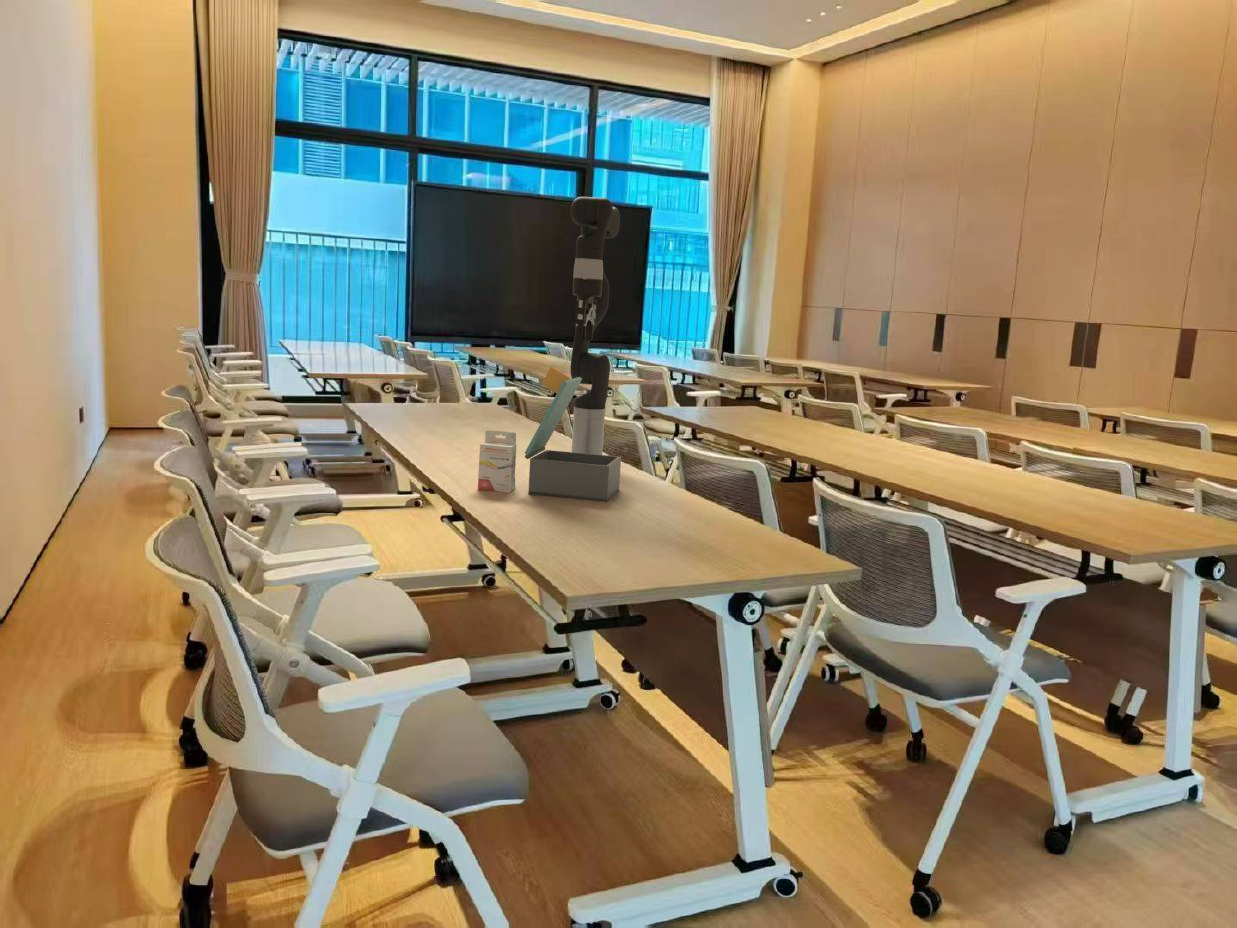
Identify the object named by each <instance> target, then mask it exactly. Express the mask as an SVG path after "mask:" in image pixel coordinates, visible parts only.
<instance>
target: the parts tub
mask: <svg viewBox="0 0 1237 928" xmlns="http://www.w3.org/2000/svg"><path fill="white" fill-rule="evenodd" d="M621 464H622V456H618V455H617V456H616V455H607V454H605V455H604V454H602V455H597V454H586V453H576V452H572V451H564V450H563V451H562V450H553V449H545V450H544V451H542V452H540V453H538V454H536V455H534V456H533V457H531V458H529V473H528V474H529V476H528V495H533V496H541V497H550V498H551V497H552V498H560V499H561V498H562V499H572V500H584V501H593V502H603V503H607V502H609V500H611V498H613V497H614V496H615V494H616V493H618V492H619V490H620V479H621Z"/></svg>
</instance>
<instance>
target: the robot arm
mask: <svg viewBox="0 0 1237 928" xmlns="http://www.w3.org/2000/svg"><path fill="white" fill-rule="evenodd" d="M570 217H571V219H572V221H573V223H575V225H577V226H580V235H579V236H578V237H577V238H576V243H575V260H574V266H573V279H572V295H573V296H576V300H575V309H574V310H575V311H574V324H575V332H574V338H573V343H572V344H573V346H572V350H571V351H572V352H571V359H570V367H569V368H570V370H569V371H570V376H571V377H570V378H572V379H573V378H577V377H580V378H582V381H581V382H580V384H582V385H591V387H590V391H588V392H587V393H584V394H582V395H577V396H576V397H575V398H574V403H573V419H572V423H573V424H572V437H571V438H572V439H571V440H572V441H571V452H576V453H586V454H597V455H603V451H604V436H605V435H604V434H605V419H606V418H605V415H606V414H605V413H606V403H607V398H608V392H609V381H610V375H611V373H610V372H611V363H610V359H609V356H608V355H606V354H604V353H597V352H596V353H595V352H589V346H590V342H591V341H592V340H593V337H594V336H593V334H594V332H595V331H596V328H597V327H598V325H599V324H600V323H601V322H602V320H603V319H604V317H605V316H606V314H607V311H608V309H609V304H610V303H609V302H610V282H609V280H608V278H607V276H606V273H605V272H604V261H603V259H604V246H605V239H606V240H607V239H609V240H610V239H615V238H616V237H617V236H618V234H619V232H620V228H621V227H620V226H621V215H620V211H619V209H618V208H617V207H616V206H613V204H612V202H611V200H609V199H608V198H606V197H593V196H592V197H591V196H578V197H576V198H574V200H573V201H572V203H571V205H570Z"/></svg>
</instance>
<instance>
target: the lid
mask: <svg viewBox="0 0 1237 928" xmlns="http://www.w3.org/2000/svg"><path fill="white" fill-rule="evenodd" d="M581 381H582V378H580V377H577V378H573V379H572V378H571V377H570V376H569V375H567V374H566V373H563V372H562V371H560V370H559V369H558V368H555V367H554V366H550V367H549V369H548V372H547V374H546V375H545V377H544V379H543V381H542V383H541V385H542V386H544V387H545V388H547V389H548V390H550V391H551V392H554V394H555V393H556V395H554V396H555V397H554V398H553V400H552V402H551V403H550V406H549V408H548V409H547V411H546V413H545V415H544V417H543V419H542V420H541V423H540V424H539V426H538V427H537V429H536V431H535V433H534V435H533V437H532V439H531V440H530V441H529V444H528V446H527V448H526V450H525V451H524V454H525V456H524V458H525V459H526V460H530V459H531V458H533V457H534V456H536V455H538V454H540V453H542V452H544V451H546V446H547V445H548V444H547V443H548V442H549V441H550V439H551V437H552V435H553V433H554V431H555V430H556V428H557V427H558V424H559V423H560V420H561V418H562V416H563V415H564V414H565V412H566V410H567V408H568V406H569V404H570V402H571V400H572V399H573V396H574V395H575V393H576V391H577V389H578V388H579V386H580V384H581V383H580V382H581Z"/></svg>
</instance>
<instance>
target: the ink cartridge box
mask: <svg viewBox="0 0 1237 928" xmlns="http://www.w3.org/2000/svg"><path fill="white" fill-rule="evenodd" d="M500 435H501V436H502V438H501V437H496V436H500ZM484 437H485V439H484V442H482V443H479V458H478V459H479V460H478V474H477V475H478V477H477V490H479V491H480V490H481V491H489V492H490V491H491V492H500V493H512V491H514V490H515V487H514V482H515V483H516V463H517V462H516V460H517V433H516V432H514V431H513V432H510V431H501V430H489V429H487V430H485V432H484ZM504 437H505V438H504Z"/></svg>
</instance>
